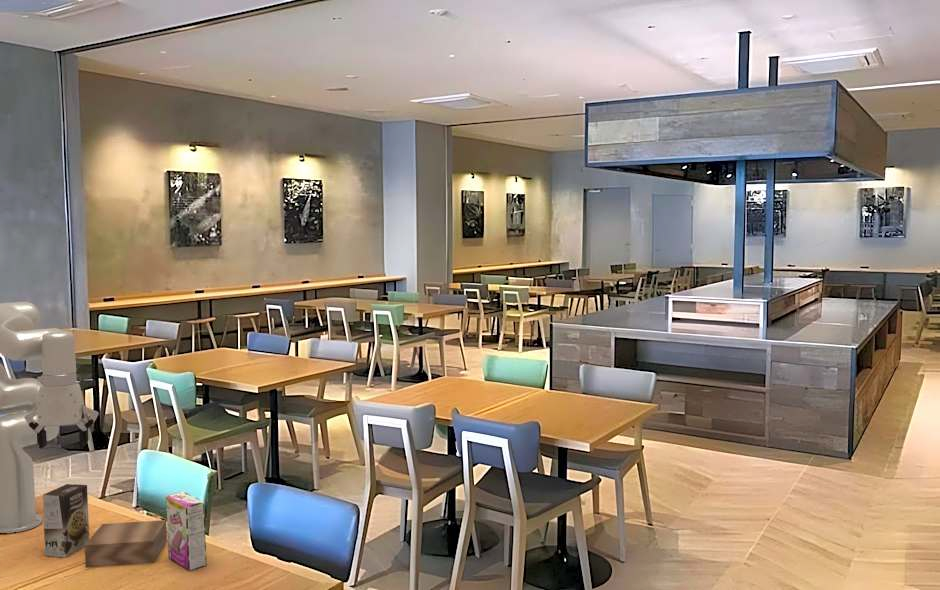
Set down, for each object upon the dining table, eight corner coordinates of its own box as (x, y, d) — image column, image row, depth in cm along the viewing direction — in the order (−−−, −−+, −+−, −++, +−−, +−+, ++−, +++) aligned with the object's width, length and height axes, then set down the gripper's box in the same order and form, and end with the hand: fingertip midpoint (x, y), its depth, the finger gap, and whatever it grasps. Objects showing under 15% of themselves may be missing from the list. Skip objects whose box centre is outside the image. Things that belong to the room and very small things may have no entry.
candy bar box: (166, 558, 194) (164, 495, 192) (185, 552, 197) (183, 490, 196) (188, 572, 186) (186, 506, 185) (207, 565, 190) (205, 500, 188)
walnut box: (85, 569, 189) (84, 545, 188) (103, 546, 203) (102, 523, 202) (154, 564, 191) (153, 540, 191) (167, 541, 205) (166, 520, 205)
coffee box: (66, 558, 194) (63, 496, 193) (44, 556, 195) (41, 494, 194) (91, 543, 203) (88, 484, 202) (69, 541, 204) (66, 482, 203)
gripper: (17, 384, 190) (20, 452, 192) (91, 381, 193) (94, 448, 195) (29, 378, 198) (32, 443, 199) (100, 376, 200) (103, 440, 202)
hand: (63, 446), depth 197 cm, fingers open, 9 cm apart
